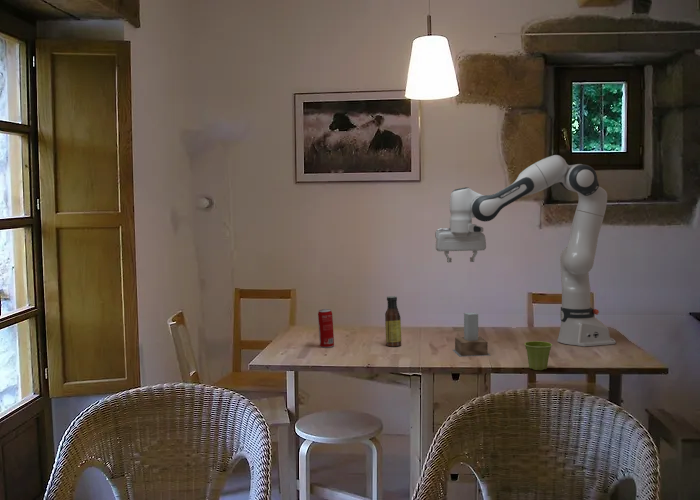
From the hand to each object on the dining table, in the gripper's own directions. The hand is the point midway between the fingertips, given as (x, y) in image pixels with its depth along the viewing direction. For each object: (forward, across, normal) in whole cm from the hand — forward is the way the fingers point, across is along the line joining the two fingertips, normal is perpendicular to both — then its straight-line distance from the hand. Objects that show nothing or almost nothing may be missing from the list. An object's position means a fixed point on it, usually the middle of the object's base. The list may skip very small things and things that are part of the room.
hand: (460, 262), depth 298 cm
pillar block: (+28, -1, -20) cm, 34 cm away
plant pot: (+33, +16, -46) cm, 59 cm away
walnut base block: (+33, -1, -20) cm, 38 cm away
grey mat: (+33, -1, -20) cm, 39 cm away
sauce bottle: (+33, -28, -1) cm, 44 cm away
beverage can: (+33, -55, +1) cm, 64 cm away
